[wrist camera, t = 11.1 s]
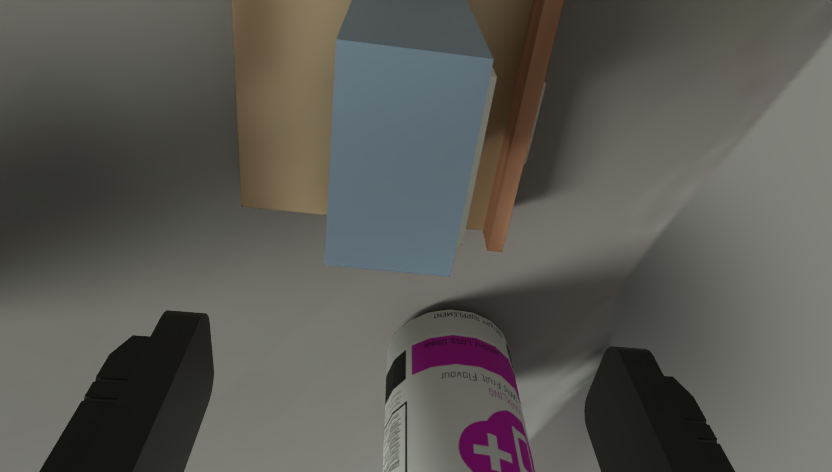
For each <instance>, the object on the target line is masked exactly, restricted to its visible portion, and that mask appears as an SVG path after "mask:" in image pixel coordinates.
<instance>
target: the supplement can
mask: <svg viewBox="0 0 832 472" xmlns="http://www.w3.org/2000/svg"><path fill="white" fill-rule="evenodd" d="M383 472H535V470H534V465H533V460H532V456H531V451H530V446H529V441H528V437H527V432H526V427H525V423H524V418H523V413H522V409H521V404H520V399H519V394H518V390H517V385H516V380H515V376H514V371H513V366H512V362H511V357H510V352H509V348H508V345H507V342H506V340H505V337H504V334H503V333H502V332H501V331H500V330H499V329H498V328H497V327H496V326H495V325H494V324H493V323H492V322H491V321H490V320H488V319H486V318H483V317H481V316H479V315H477V314H475V313H472V312H465V311H458V310H442V311H435V312H428V313H426V314H424V315H421V316H419V317H417V318H415V319H412V320H410V321H408V322H407V323H406V324H405V325H404V326H403V327H402V328H401V329H399V330H398V331H397V332H396V333H395V334H394V336H393V338H392V340H391V343H390V345H389V347H388V349H387V375H386V401H385V427H384V453H383Z"/></svg>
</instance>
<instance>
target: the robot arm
mask: <svg viewBox="0 0 832 472" xmlns="http://www.w3.org/2000/svg"><path fill="white" fill-rule="evenodd" d="M213 378H214V367H213V356H212V345H211V333H210V322H209V317H208V315H207V314H206V313H193V312H181V311H165V312H164V313H163V315H162V316H161V318H160V320H159V322H158V324H157V325H156V327H155V329H154V331H153V333H152V335H151V337H147V336H134V335H133V336H132V337H130V338H129V339H128V340H127V341H126V342H124V343H123V344H122V345H121V346H119V347H118V348H117V349H116V350H114V351H113V352H112V353H111V354H110V355H109V356H108V358H107V360H106V361H105V363H104V365H103V366H102V368H101V370H100V371H99V373H98V375H97V376H96V381H95V382H93V383H92V385H91V386H90V388H89V390H88V391H87V393H86V395H85V399H84V401H81V403H80V405H79V406H78V408H77V410H76V411H75V413H74V415H73V416H72V418H71V420H70V421H69V423H68V425H67V426H66V428H65V430H64V431H63V433H62V435H61V436H60V438H59V440H58V441H57V443H56V445H55V446H54V448H53V450H52V451H51V453H50V455H49V456H48V458H47V460H46V461H45V463H44V465H43V466H42V468H41V470H40V471H39V472H184V470H185V467H186V464H187V461H188V459H189V456H190V453H191V450H192V447H193V445H194V442H195V439H196V436H197V434H198V431H199V428H200V425H201V422H202V420H203V417H204V414H205V411H206V409H207V406H208V403H209V400H210V396H211V392H212V386H213ZM585 422H586V427H587V430H588V433H589V436H590V439H591V442H592V445H593V448H594V451H595V454H596V457H597V460H598V463H599V466H600V469H601V472H735V471H734V469H733V467H732V466H731V464H730V462H729V460H728V458H727V456H726V455H725V453H724V451H723V449H722V447H721V446H720V444H717V438H716V437H715V435H714V433H713V431H712V430H711V428H710V426H709V425H707V424H706V419H705V417H704V415H703V413H702V411H701V410H700V408H699V406H698V404H697V403H696V401H695V399H694V397H693V396H692V395H691V394H690V393H689V392H688V391H687V390H686V389H685V388H684V387H683V386H682V385H681V384H680V383H679V382H678V381H677V380H676V379H674V377H668V376H664V375H663V373H662V372H661V370H660V368H659V366H658V364H657V362H656V360H655V358H654V356H653V355H652V353H651V352H650V351H649V350H647V349H637V348H624V347H609V348H608V349H607V350H606V351H605V353H604V356H603V358H602V360H601V363H600V365H599V368H598V370H597V373H596V375H595V378H594V380H593V382H592V385H591V387H590V390H589V392H588V395H587V398H586V402H585Z"/></svg>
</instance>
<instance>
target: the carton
mask: <svg viewBox="0 0 832 472" xmlns="http://www.w3.org/2000/svg"><path fill="white" fill-rule="evenodd" d="M493 60H494V59H493V57H492V54H491V52H490V50H489V48H488V46H487V43H486V41H485V39H484V37H483V35H482V32H481V30H480V28H479V26H478V24H477V21H476V19H475V17H474V15H473V12H472V10H471V8H470V6H469V4H468V1H467V0H352V1H351V3H350V6H349V8H348V11H347V13H346V16H345V18H344V21H343V23H342V26H341V28H340V31H339V33H338V35H337V38H336V49H335V68H334V88H333V107H332V127H331V146H330V166H329V185H328V204H327V224H326V243H325V263H324V265H330V266H341V267H352V268H362V269H373V270H383V271H394V272H404V273H415V274H426V275H436V276H447V277H450V275H451V270H452V265H453V260H454V255H455V250H456V245H457V244H459V245H462V244H463V239H464V234H465V230H466V225H467V220H468V215H469V210H470V205H471V201H472V196H473V191H474V186H475V181H476V176H477V171H478V167H479V162H480V157H481V152H482V147H483V142H484V137H485V133H486V128H487V123H488V118H489V113H490V108H491V103H492V99H493V94H494V89H495V84H496V79H497V76H496V74H495V71H494V69H493V67H492V65H493Z"/></svg>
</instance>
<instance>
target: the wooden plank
mask: <svg viewBox="0 0 832 472" xmlns="http://www.w3.org/2000/svg"><path fill="white" fill-rule="evenodd" d="M231 1H232V22H233V43H234V64H235V85H236V106H237V127H238V148H239V169H240V190H241V207H250V208H260V209H270V210H281V211H291V212H301V213H311V214H322V215H327V204H328V185H329V166H330V146H331V127H332V107H333V88H334V68H335V49H336V38H337V35H338V33H339V31H340V28H341V26H342V23H343V21H344V18H345V16H346V13H347V11H348V8H349V6H350V3H351V1H352V0H231ZM467 1H468V4H469V6H470V8H471V10H472V12H473V15H474V17H475V19H476V21H477V24H478V26H479V28H480V30H481V32H482V35H483V37H484V39H485V41H486V43H487V46H488V48H489V50H490V52H491V54H492V57H493V59H494V60H493V65H492V67H493V69H494V71H495V74H496V76H497V79H496V84H495V89H494V94H493V99H492V103H491V108H490V113H489V118H488V123H487V128H486V133H485V137H484V142H483V147H482V152H481V157H480V162H479V167H478V171H477V176H476V181H475V186H474V191H473V196H472V201H471V205H470V210H469V215H468V220H467V225H466V229H475V230H483V233H484V238H485V242H486V247H487V251H497V252H502V250H503V246H504V242H505V238H506V234H507V230H508V226H509V222H510V218H511V214H512V210H513V206H514V202H515V198H516V194H517V190H518V186H519V182H520V178H521V174H522V170H523V166H524V164H526V163H527V159H528V155H529V151H530V147H531V143H532V139H533V135H534V131H535V127H536V123H537V119H538V115H539V111H540V107H541V103H542V99H543V95H544V91H545V87H546V82H545V77H546V73H547V69H548V65H549V61H550V57H551V52H552V48H553V44H554V40H555V36H556V32H557V28H558V24H559V20H560V16H561V12H562V8H563V4H564V0H467Z"/></svg>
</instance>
